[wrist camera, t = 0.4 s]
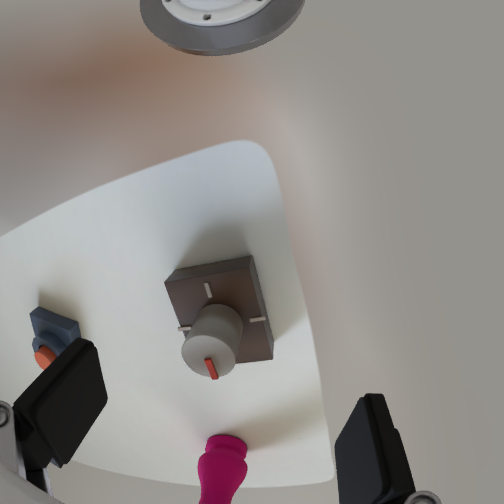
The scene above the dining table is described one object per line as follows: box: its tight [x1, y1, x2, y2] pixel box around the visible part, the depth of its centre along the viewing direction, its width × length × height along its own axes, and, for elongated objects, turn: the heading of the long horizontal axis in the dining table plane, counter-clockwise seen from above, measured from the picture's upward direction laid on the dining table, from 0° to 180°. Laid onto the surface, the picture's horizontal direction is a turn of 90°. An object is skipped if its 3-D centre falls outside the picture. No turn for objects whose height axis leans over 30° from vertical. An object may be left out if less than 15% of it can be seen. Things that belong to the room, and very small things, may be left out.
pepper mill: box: [198, 435, 247, 504], centre depth 29 cm, size 7×7×20 cm
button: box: [35, 345, 57, 370], centre depth 30 cm, size 4×4×2 cm
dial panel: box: [164, 256, 274, 364], centre depth 28 cm, size 10×9×3 cm
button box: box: [30, 307, 81, 357], centre depth 33 cm, size 10×8×4 cm
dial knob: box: [181, 304, 243, 380], centre depth 24 cm, size 4×4×5 cm
